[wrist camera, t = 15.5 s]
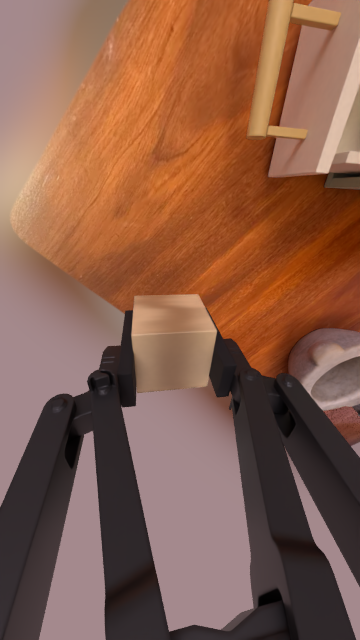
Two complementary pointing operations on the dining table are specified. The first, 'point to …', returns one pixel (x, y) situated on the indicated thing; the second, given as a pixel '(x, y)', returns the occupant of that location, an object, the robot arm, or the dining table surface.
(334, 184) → the cabinet
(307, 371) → the mortar
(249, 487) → the robot arm
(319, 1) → the drawer
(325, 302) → the dining table surface
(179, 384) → the block
